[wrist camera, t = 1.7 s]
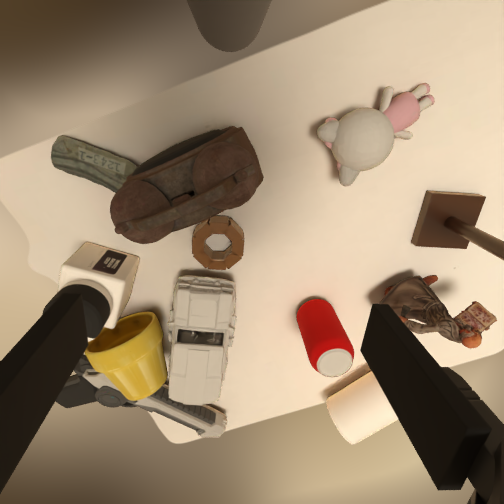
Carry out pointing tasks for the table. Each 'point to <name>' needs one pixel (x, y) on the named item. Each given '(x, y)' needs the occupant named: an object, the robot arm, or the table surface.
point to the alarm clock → (186, 185)
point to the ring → (218, 258)
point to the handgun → (138, 401)
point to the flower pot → (131, 355)
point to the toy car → (200, 338)
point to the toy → (372, 131)
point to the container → (98, 284)
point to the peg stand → (453, 223)
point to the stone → (90, 163)
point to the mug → (360, 409)
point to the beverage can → (324, 338)
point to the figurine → (436, 312)
